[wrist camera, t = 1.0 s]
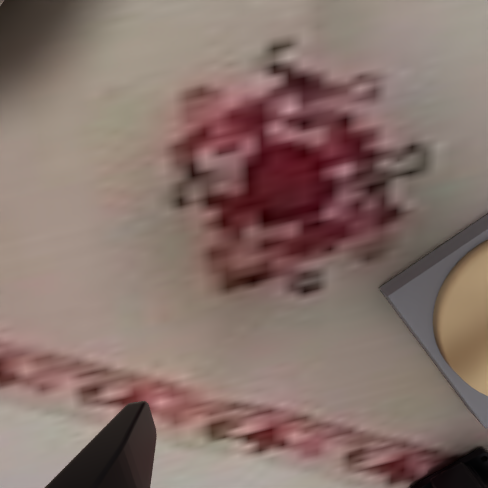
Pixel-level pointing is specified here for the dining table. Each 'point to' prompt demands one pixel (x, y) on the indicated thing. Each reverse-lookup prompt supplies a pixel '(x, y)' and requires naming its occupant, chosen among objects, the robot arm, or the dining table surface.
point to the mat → (423, 302)
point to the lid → (465, 318)
